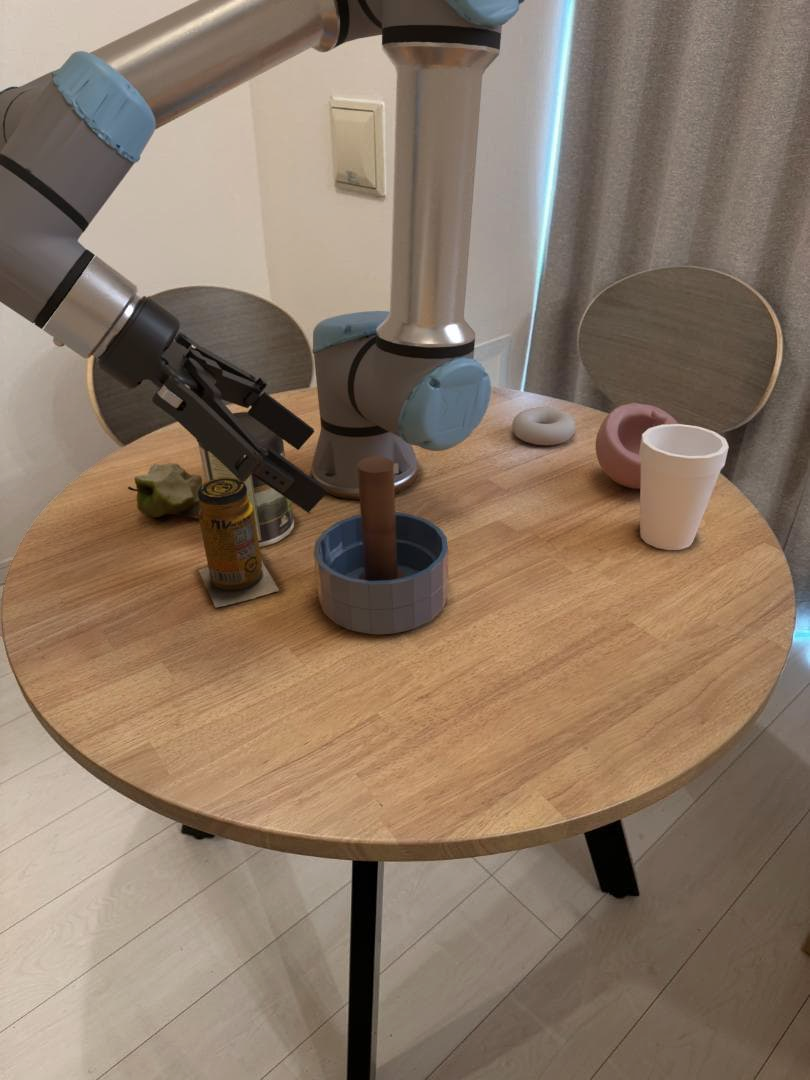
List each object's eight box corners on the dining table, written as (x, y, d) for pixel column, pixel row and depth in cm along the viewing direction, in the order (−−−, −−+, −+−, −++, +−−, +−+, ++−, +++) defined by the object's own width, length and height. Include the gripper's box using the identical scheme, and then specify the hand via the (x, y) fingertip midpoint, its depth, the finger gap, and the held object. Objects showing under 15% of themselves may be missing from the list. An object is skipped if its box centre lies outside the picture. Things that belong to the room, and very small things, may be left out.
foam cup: (710, 560, 87) (734, 461, 80) (629, 553, 88) (645, 455, 82) (700, 520, 95) (720, 426, 88) (625, 514, 96) (640, 421, 89)
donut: (515, 450, 114) (580, 448, 113) (516, 430, 112) (582, 427, 112) (508, 424, 122) (569, 422, 122) (509, 405, 120) (570, 402, 120)
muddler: (359, 580, 84) (350, 453, 76) (405, 579, 84) (401, 452, 76) (357, 608, 80) (348, 477, 71) (406, 607, 80) (401, 475, 71)
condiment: (258, 555, 90) (244, 467, 84) (279, 591, 84) (266, 499, 77) (198, 571, 88) (179, 482, 81) (215, 610, 81) (196, 516, 75)
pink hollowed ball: (627, 512, 97) (639, 431, 91) (574, 474, 106) (582, 399, 100) (698, 492, 101) (715, 414, 95) (641, 458, 110) (653, 385, 104)
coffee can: (287, 503, 101) (275, 406, 94) (300, 541, 93) (288, 438, 85) (211, 515, 99) (192, 417, 91) (217, 555, 91) (197, 451, 83)
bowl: (325, 563, 88) (320, 513, 85) (443, 560, 88) (443, 509, 85) (314, 640, 76) (308, 585, 73) (451, 636, 76) (452, 581, 73)
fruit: (152, 543, 96) (125, 490, 92) (144, 516, 103) (119, 466, 99) (219, 515, 98) (196, 462, 94) (206, 491, 106) (184, 441, 101)
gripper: (112, 321, 74) (281, 443, 84) (63, 415, 53) (295, 562, 63) (156, 262, 72) (323, 394, 82) (123, 336, 51) (353, 501, 61)
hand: (311, 468), depth 72 cm, fingers open, 13 cm apart
